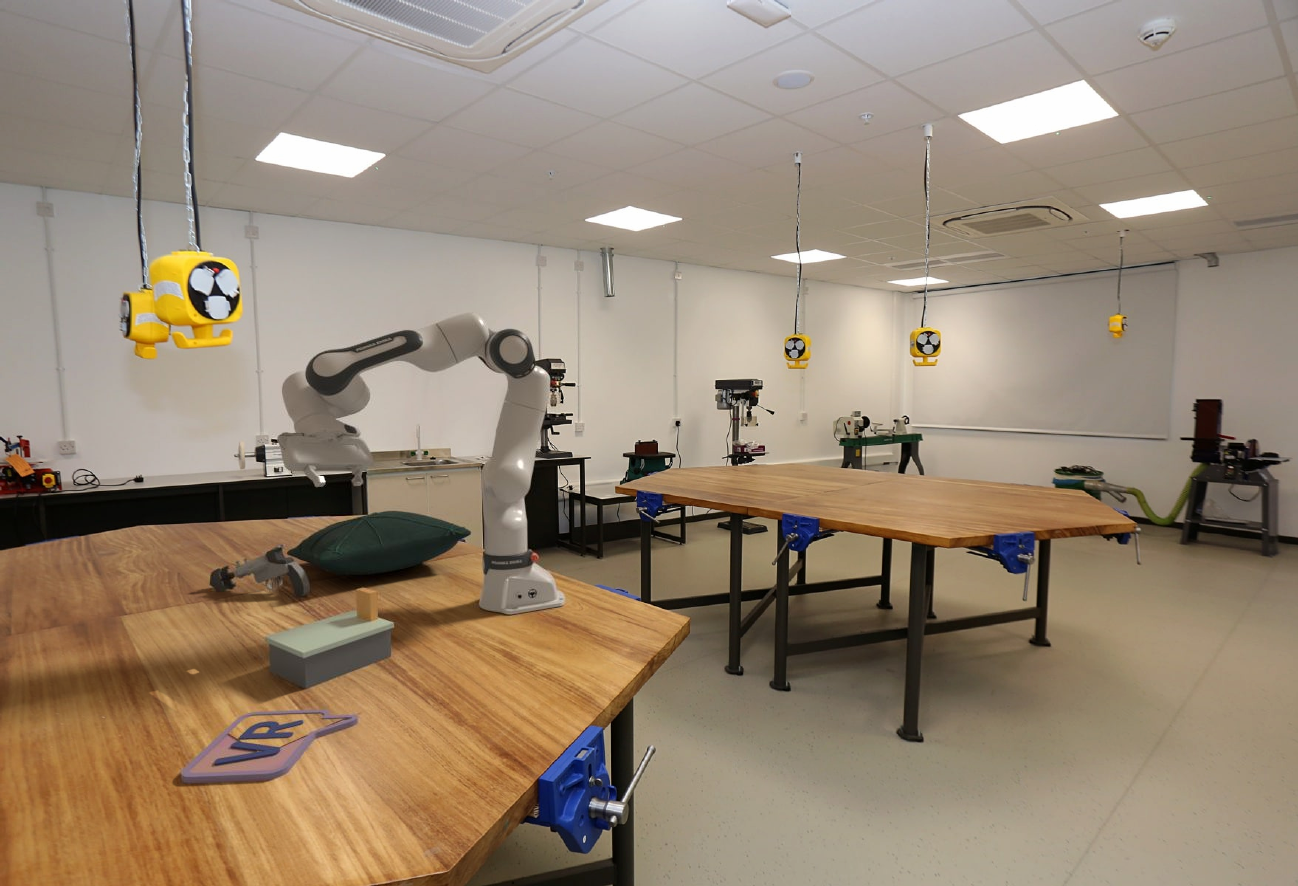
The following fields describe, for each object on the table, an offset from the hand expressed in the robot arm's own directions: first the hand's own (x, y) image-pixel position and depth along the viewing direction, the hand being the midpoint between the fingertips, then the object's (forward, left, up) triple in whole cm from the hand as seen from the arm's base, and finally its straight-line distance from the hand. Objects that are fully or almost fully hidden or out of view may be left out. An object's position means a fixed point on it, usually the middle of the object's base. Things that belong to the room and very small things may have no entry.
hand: (340, 485), depth 145 cm
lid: (+1, +16, -30) cm, 34 cm away
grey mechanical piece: (+27, -44, -36) cm, 62 cm away
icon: (+5, +45, -36) cm, 58 cm away
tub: (+1, +16, -35) cm, 39 cm away
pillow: (-2, -60, -35) cm, 69 cm away
